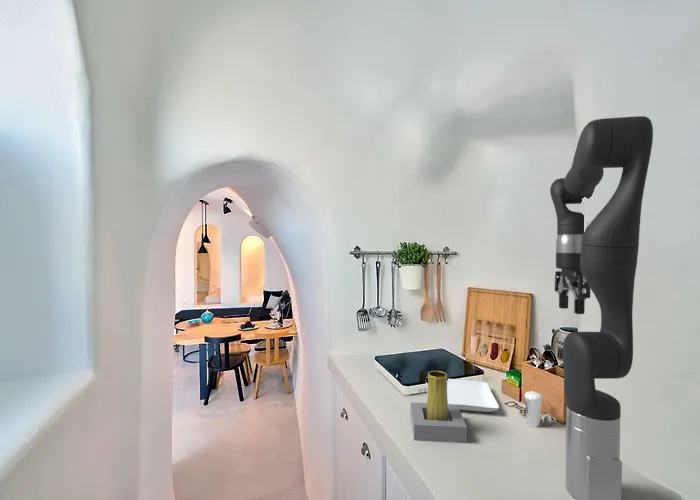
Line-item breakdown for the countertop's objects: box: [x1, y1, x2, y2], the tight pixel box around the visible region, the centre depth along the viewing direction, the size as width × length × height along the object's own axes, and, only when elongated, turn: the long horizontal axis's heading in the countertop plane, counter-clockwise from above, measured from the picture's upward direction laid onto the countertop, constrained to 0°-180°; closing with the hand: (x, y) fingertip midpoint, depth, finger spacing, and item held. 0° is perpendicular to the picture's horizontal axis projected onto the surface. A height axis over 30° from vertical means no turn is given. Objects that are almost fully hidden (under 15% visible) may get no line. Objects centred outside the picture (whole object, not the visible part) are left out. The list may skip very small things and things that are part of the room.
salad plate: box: [425, 378, 500, 413], centre depth 121 cm, size 21×21×3 cm
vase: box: [426, 370, 448, 421], centre depth 102 cm, size 6×6×14 cm
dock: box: [410, 402, 468, 444], centre depth 102 cm, size 14×14×4 cm
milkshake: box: [524, 390, 546, 428], centre depth 104 cm, size 4×5×10 cm
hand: (571, 310), depth 100 cm, fingers open, 8 cm apart
